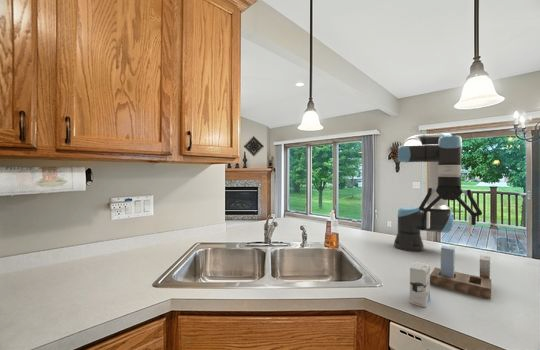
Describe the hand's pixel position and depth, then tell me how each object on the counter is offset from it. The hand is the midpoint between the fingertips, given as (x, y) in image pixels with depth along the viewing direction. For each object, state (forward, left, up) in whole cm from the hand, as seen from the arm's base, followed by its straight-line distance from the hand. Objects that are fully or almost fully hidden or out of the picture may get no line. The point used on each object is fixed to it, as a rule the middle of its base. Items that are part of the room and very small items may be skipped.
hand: (448, 230), depth 102 cm
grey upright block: (+11, +10, -21) cm, 25 cm away
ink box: (-5, -23, -21) cm, 31 cm away
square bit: (0, 0, -21) cm, 21 cm away
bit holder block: (+4, 0, -21) cm, 21 cm away
